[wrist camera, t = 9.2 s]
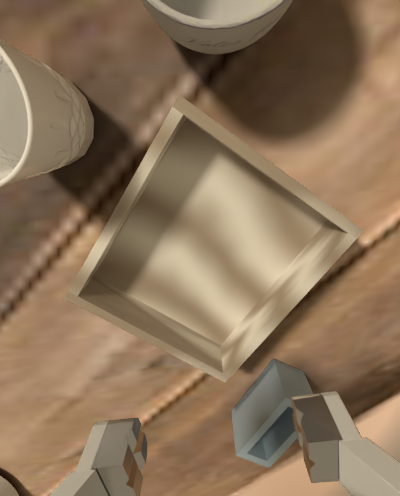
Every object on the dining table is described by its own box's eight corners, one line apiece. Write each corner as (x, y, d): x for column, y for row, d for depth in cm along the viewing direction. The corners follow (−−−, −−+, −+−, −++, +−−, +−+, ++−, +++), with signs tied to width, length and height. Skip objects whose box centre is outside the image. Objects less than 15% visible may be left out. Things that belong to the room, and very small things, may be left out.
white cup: (123, 125, 23) (66, 115, 13) (60, 191, 24) (-27, 223, 15) (42, 37, 20) (-91, -49, 11) (-19, 116, 22) (-177, 100, 13)
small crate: (260, 423, 34) (269, 467, 30) (231, 411, 34) (236, 455, 29) (303, 372, 31) (321, 412, 27) (273, 358, 31) (285, 397, 26)
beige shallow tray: (221, 348, 30) (225, 382, 26) (85, 274, 27) (64, 298, 23) (337, 215, 25) (364, 230, 21) (183, 103, 22) (179, 94, 18)
